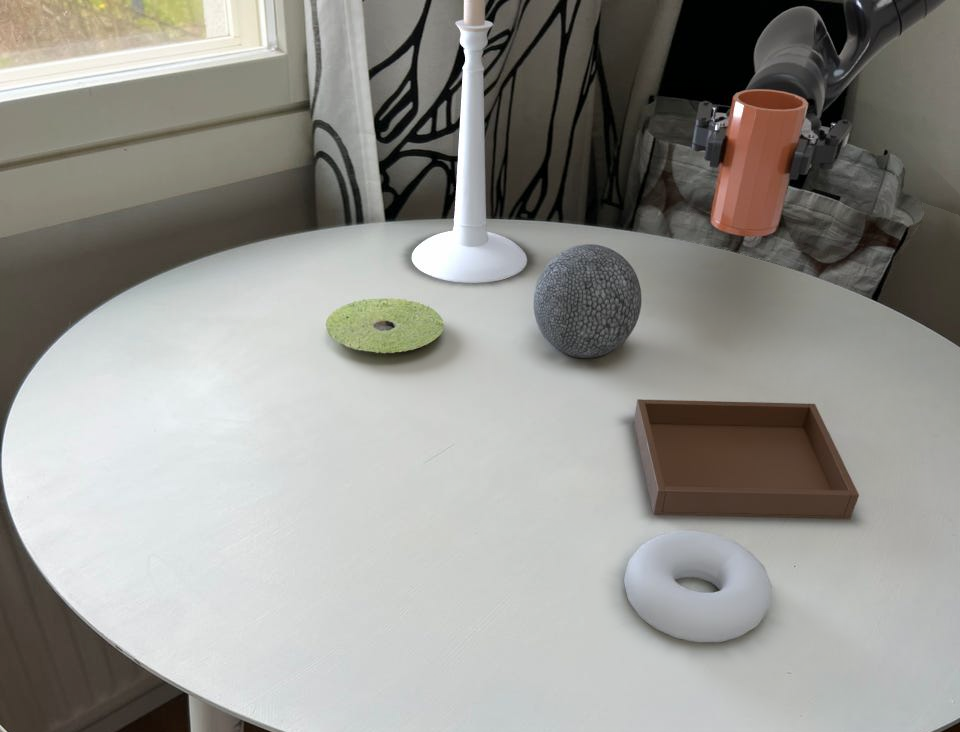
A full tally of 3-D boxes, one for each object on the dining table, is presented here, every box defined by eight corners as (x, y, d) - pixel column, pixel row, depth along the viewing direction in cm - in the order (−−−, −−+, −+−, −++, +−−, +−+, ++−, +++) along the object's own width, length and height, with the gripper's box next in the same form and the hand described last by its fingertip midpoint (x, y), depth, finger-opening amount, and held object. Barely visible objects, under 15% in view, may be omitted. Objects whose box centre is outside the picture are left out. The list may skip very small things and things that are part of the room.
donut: (592, 605, 66) (715, 676, 61) (597, 567, 64) (725, 637, 59) (673, 541, 71) (792, 601, 67) (681, 503, 69) (805, 563, 64)
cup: (769, 211, 87) (798, 90, 80) (784, 237, 83) (815, 112, 76) (705, 209, 87) (727, 88, 80) (716, 235, 83) (741, 109, 76)
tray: (806, 432, 83) (815, 403, 81) (848, 524, 73) (859, 495, 71) (632, 427, 82) (637, 398, 80) (652, 520, 73) (658, 490, 71)
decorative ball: (580, 389, 87) (593, 282, 80) (508, 347, 92) (514, 243, 85) (654, 356, 92) (672, 253, 85) (582, 318, 97) (593, 218, 90)
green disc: (344, 310, 97) (343, 291, 95) (453, 321, 96) (453, 302, 94) (313, 363, 89) (311, 344, 87) (431, 376, 88) (431, 357, 86)
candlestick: (538, 284, 102) (562, -57, 81) (420, 290, 100) (414, -58, 79) (513, 237, 111) (529, -81, 90) (404, 242, 109) (396, -82, 88)
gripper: (714, 52, 90) (678, 99, 78) (871, 71, 86) (857, 123, 75) (699, 138, 95) (663, 194, 84) (846, 159, 92) (830, 220, 80)
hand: (755, 160), depth 79 cm, fingers closed on cup, 6 cm apart
